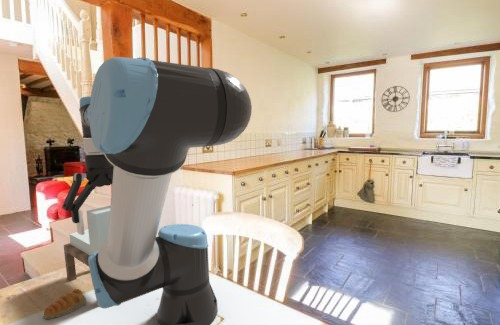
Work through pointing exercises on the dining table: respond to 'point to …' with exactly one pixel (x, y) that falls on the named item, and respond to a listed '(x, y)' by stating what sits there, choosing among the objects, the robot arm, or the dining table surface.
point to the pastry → (65, 304)
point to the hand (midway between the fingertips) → (106, 226)
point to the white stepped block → (93, 231)
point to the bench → (70, 262)
